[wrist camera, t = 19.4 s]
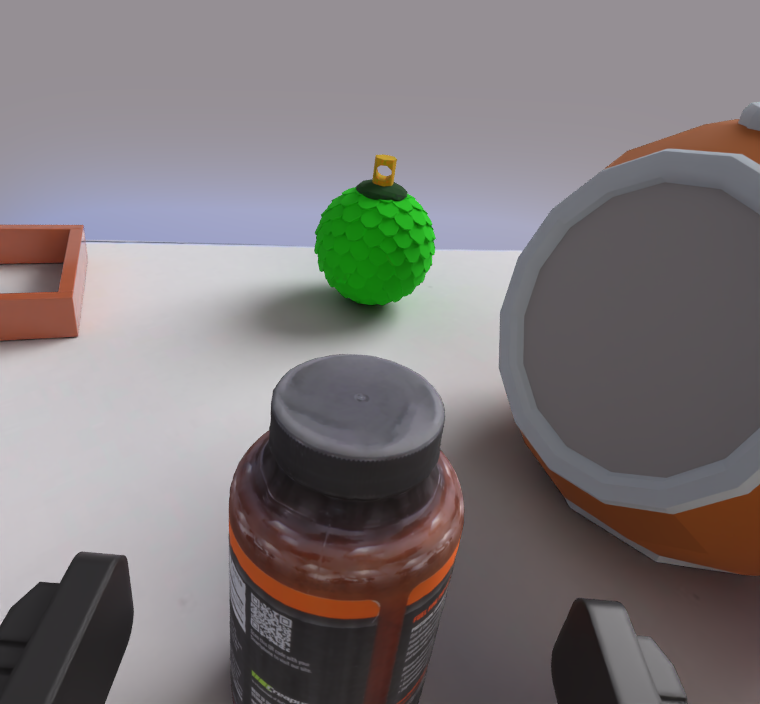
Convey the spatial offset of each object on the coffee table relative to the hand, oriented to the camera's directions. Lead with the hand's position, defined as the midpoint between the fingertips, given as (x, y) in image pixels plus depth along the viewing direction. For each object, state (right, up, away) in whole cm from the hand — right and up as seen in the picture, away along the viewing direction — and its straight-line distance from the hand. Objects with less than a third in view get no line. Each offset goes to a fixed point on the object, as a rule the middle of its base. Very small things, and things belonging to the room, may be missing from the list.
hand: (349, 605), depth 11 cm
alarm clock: (+15, -2, +20) cm, 25 cm away
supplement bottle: (-1, -6, +9) cm, 11 cm away
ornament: (0, +8, +33) cm, 34 cm away
